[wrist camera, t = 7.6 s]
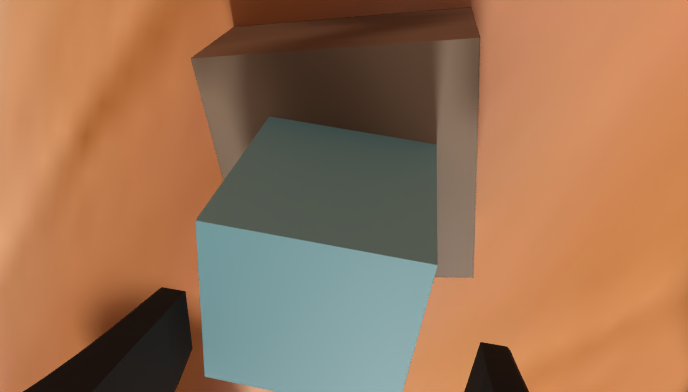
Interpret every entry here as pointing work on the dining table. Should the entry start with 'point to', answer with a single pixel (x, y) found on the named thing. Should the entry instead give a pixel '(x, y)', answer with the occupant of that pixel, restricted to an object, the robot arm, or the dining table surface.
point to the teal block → (318, 260)
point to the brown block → (360, 96)
